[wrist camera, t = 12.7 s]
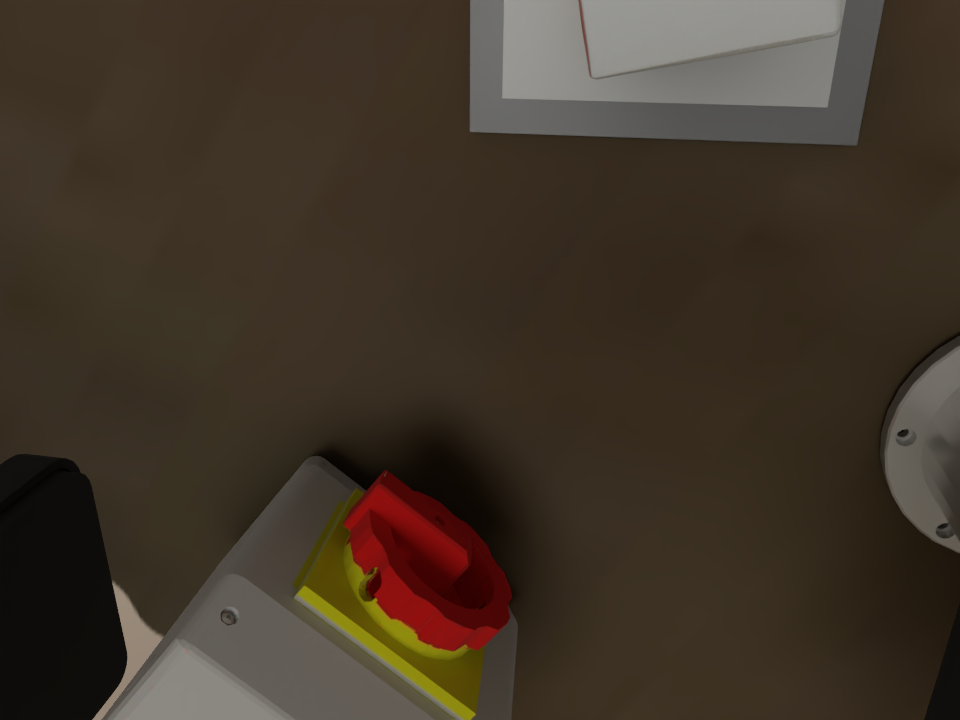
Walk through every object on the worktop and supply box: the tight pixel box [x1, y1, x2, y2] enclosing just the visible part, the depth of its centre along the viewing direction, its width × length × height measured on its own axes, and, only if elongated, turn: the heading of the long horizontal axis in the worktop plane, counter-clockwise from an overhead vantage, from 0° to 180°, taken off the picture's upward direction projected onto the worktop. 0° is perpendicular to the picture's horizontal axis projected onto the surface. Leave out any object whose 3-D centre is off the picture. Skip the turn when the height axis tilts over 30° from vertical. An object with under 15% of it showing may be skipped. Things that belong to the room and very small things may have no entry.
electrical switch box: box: [102, 456, 518, 720], centre depth 38 cm, size 15×15×20 cm
